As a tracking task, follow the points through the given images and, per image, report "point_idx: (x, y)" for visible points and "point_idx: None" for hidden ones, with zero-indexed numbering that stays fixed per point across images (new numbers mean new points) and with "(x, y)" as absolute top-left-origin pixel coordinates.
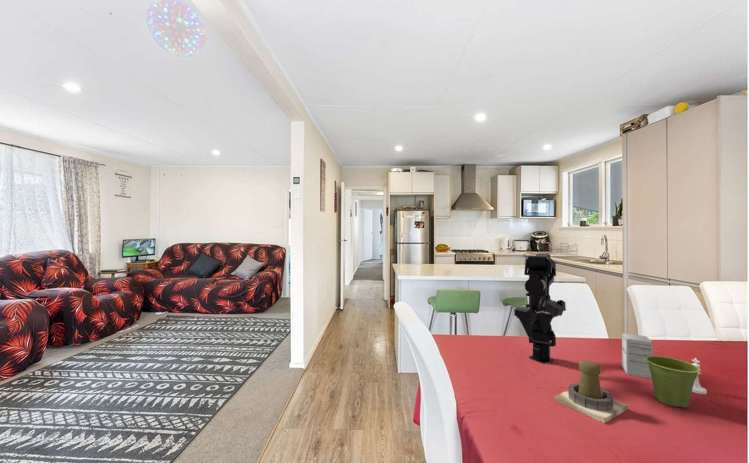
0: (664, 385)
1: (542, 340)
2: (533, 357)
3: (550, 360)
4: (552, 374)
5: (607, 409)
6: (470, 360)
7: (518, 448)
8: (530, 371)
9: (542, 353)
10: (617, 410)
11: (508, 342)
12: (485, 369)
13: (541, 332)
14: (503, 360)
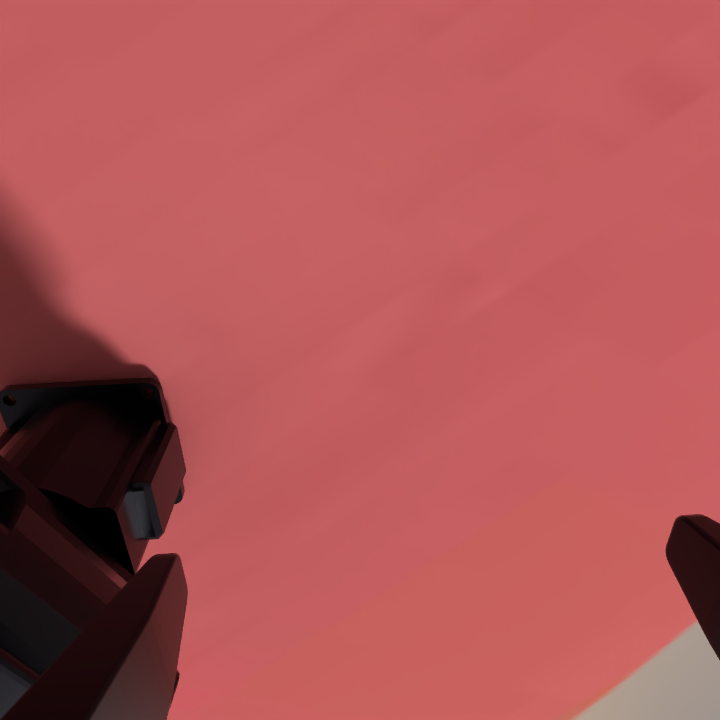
0: None
1: (84, 544)
2: (183, 469)
3: (61, 386)
4: (299, 204)
5: None
6: (592, 594)
7: None
8: (414, 330)
9: (118, 450)
10: None
11: None
12: (651, 479)
13: (58, 649)
14: (407, 529)
